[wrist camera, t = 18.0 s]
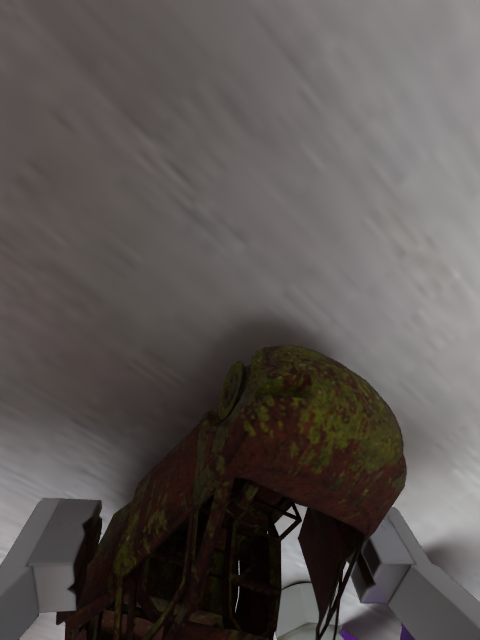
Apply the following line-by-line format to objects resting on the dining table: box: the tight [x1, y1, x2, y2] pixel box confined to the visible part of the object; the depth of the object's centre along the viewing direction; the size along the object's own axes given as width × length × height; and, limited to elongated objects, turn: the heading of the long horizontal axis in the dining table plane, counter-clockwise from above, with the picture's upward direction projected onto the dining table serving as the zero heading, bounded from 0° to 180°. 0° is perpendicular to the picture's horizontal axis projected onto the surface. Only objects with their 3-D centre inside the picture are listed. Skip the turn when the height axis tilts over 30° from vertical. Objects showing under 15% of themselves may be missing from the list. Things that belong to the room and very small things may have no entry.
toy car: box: [56, 345, 407, 640], centre depth 8 cm, size 12×7×5 cm, turn 144°
